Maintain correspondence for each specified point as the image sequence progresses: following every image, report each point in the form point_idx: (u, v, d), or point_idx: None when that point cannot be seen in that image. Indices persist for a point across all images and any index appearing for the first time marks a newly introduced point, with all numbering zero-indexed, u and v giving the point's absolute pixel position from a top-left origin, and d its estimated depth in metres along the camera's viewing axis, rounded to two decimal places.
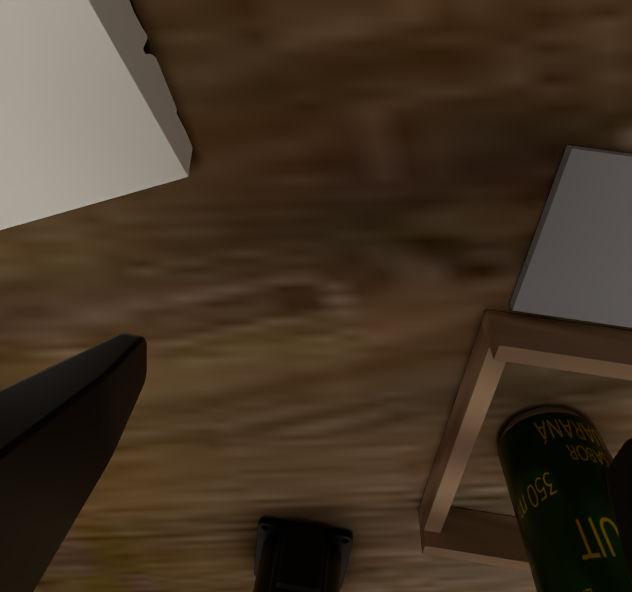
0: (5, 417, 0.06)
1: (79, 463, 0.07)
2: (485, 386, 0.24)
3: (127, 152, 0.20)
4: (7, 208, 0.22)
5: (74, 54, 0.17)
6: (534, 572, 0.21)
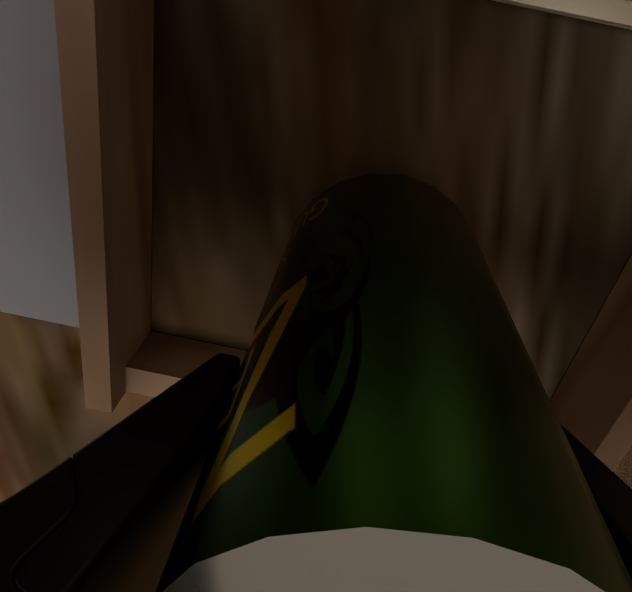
0: (142, 445, 0.06)
1: (194, 486, 0.07)
2: None
3: None
4: None
5: None
6: None
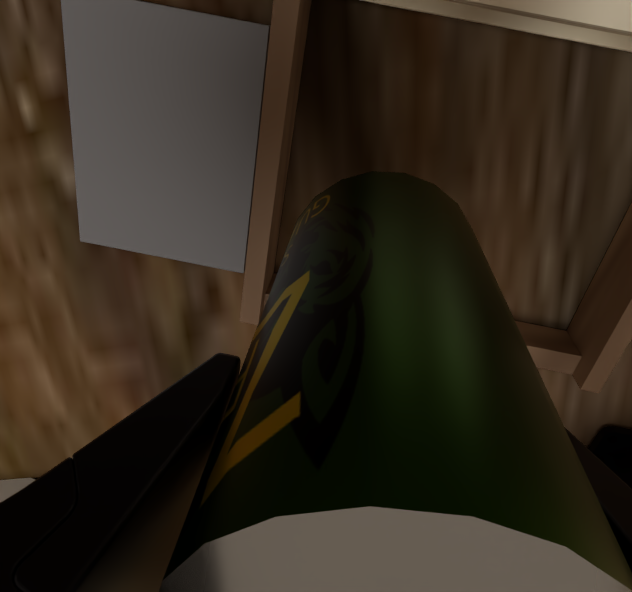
0: (142, 445, 0.06)
1: (194, 486, 0.07)
2: None
3: None
4: None
5: None
6: None
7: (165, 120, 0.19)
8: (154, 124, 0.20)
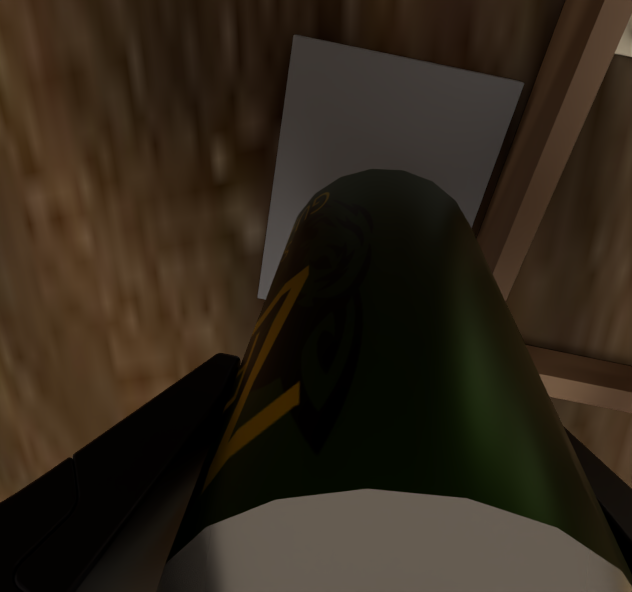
0: (142, 445, 0.06)
1: (193, 486, 0.07)
2: None
3: None
4: None
5: None
6: None
7: None
8: None
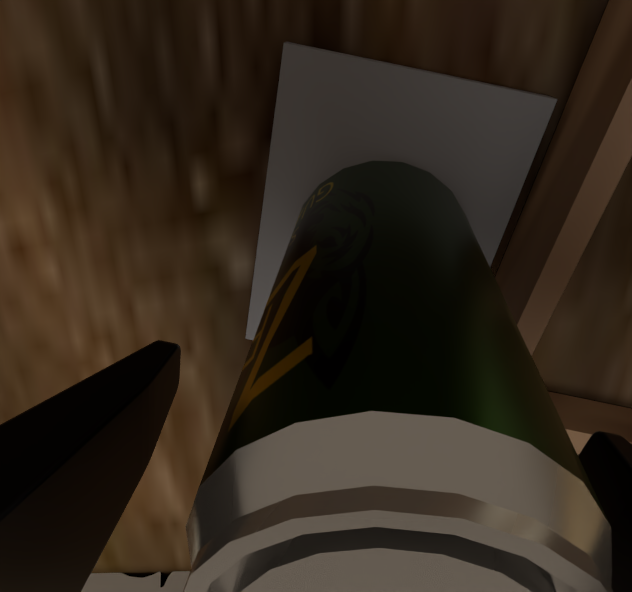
0: (55, 427, 0.06)
1: (121, 472, 0.07)
2: None
3: None
4: None
5: None
6: None
7: None
8: None
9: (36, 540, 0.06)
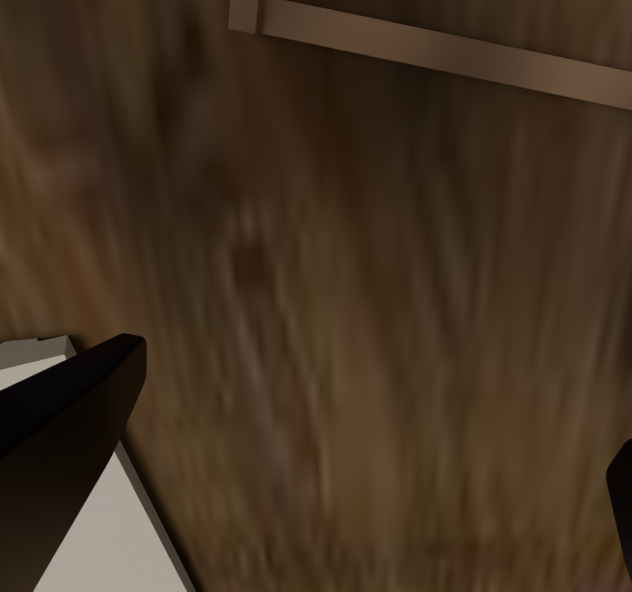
0: (5, 417, 0.06)
1: (79, 463, 0.07)
2: (338, 31, 0.15)
3: None
4: (113, 485, 0.27)
5: None
6: None
7: None
8: None
9: None
